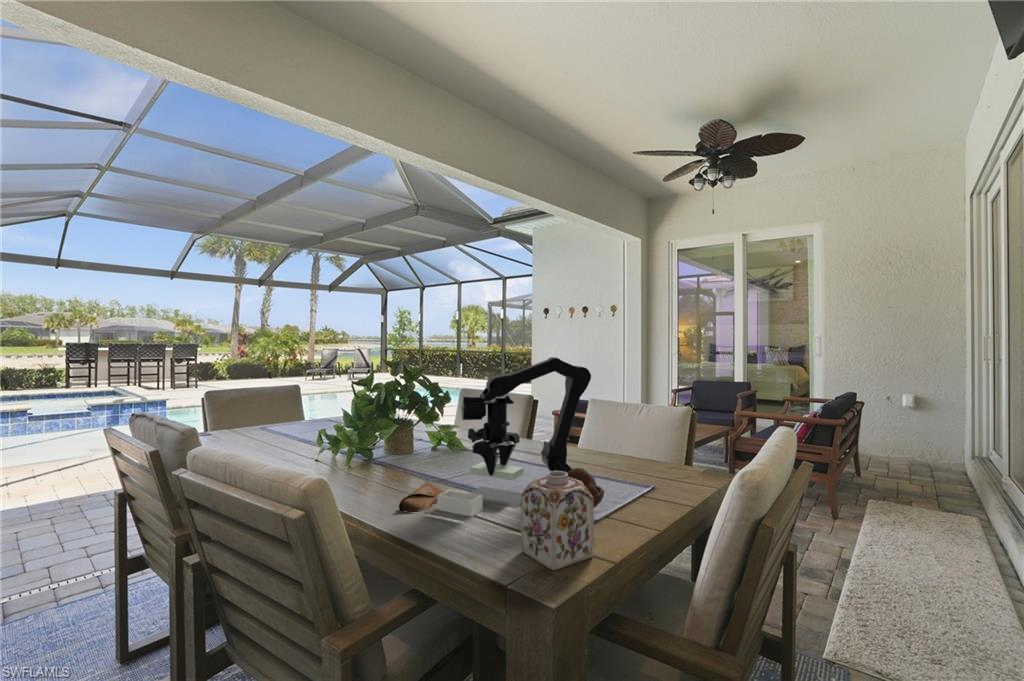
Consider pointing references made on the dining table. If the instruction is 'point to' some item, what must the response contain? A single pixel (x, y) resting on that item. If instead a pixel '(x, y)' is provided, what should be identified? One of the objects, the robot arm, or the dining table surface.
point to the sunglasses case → (420, 498)
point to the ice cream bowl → (588, 484)
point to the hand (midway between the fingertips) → (497, 472)
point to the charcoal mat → (499, 496)
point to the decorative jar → (557, 520)
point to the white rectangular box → (460, 502)
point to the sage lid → (498, 471)
